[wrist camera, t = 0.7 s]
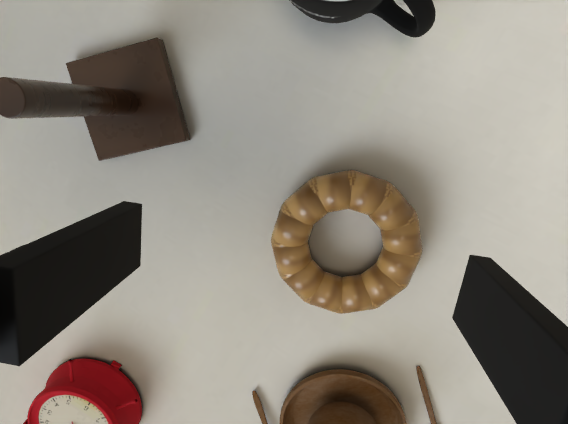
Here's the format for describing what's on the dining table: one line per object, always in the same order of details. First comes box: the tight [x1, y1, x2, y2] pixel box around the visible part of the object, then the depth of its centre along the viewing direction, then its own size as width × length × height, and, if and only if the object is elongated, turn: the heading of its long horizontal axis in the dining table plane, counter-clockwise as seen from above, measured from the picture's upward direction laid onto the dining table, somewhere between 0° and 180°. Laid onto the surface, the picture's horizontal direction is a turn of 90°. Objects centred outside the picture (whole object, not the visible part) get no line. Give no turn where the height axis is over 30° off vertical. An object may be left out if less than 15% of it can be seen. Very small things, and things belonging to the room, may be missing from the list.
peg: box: [0, 38, 190, 161], centre depth 25 cm, size 8×8×13 cm
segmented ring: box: [271, 170, 422, 313], centre depth 31 cm, size 12×12×3 cm
